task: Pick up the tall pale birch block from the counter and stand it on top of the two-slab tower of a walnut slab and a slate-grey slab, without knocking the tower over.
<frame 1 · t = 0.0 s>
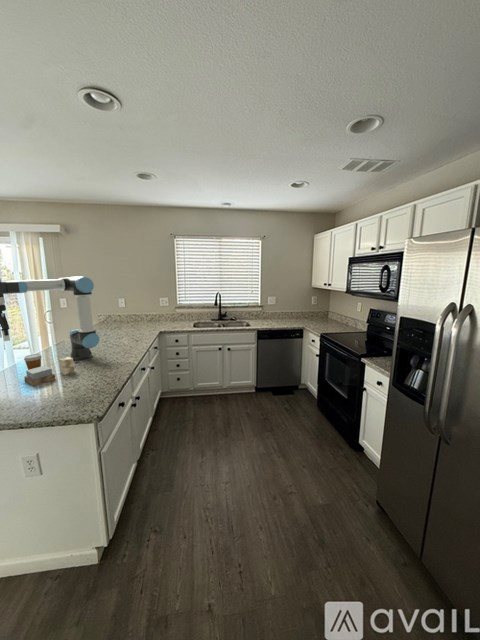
hand: (2, 339, 158), 28 cm above the worktop, tool pointing down, fingers open, 13 cm apart
birch block: (67, 372, 179), on the worktop
disposable coffee cup: (35, 372, 179), on the worktop
base slab: (40, 381, 165), on the worktop, touching top slab
top slab: (39, 375, 165), point 4 cm above the worktop, touching base slab
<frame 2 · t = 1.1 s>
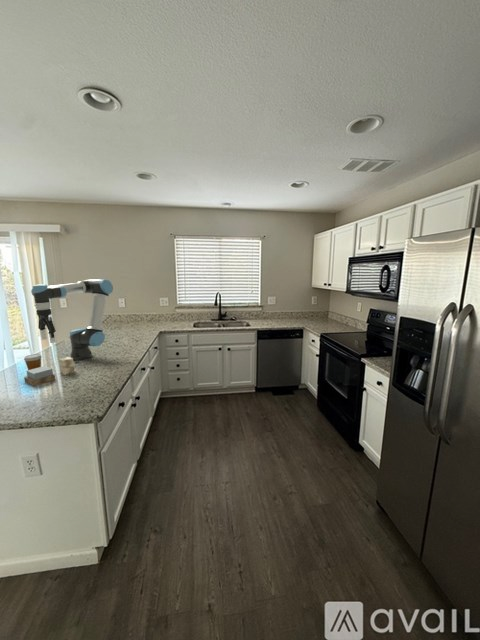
hand: (48, 341, 170), 24 cm above the worktop, tool pointing down, fingers open, 13 cm apart
nothing on the worktop moved.
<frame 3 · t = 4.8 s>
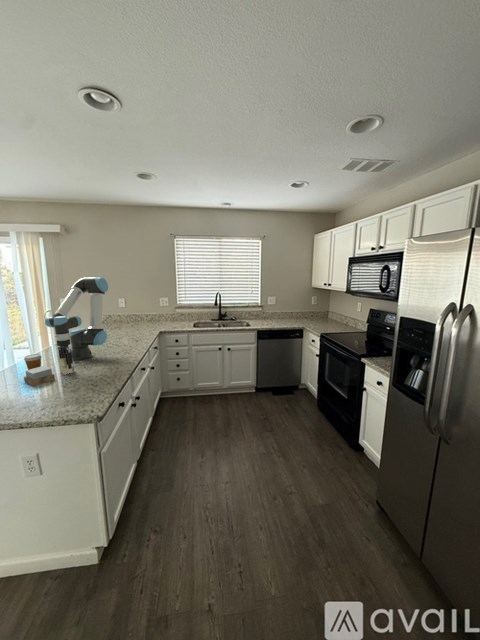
hand: (67, 371, 178), 0 cm above the worktop, tool pointing down, fingers closed on birch block, 6 cm apart
birch block: (67, 372, 178), on the worktop, touching gripper
everything else where it was.
when the fingers open (10 cm above the worktop, at t = 10.1 s): birch block drops 2 cm, resting on top slab.
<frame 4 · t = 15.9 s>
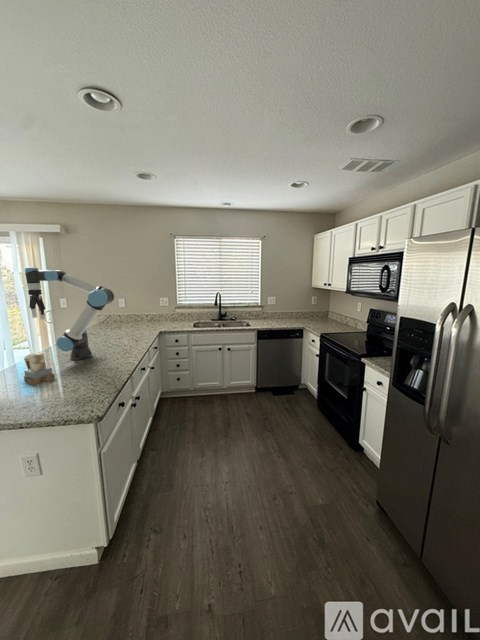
hand: (38, 318, 190), 35 cm above the worktop, tool pointing down, fingers open, 13 cm apart
birch block: (38, 369, 165), point 7 cm above the worktop, touching top slab
top slab: (38, 375, 165), point 3 cm above the worktop, touching base slab, birch block
at the end: birch block 0.3 cm off-centre on the top slab, point 4.1 cm above the top slab's base; birch block tilted 1°; top slab moved 1.2 cm from its start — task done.
